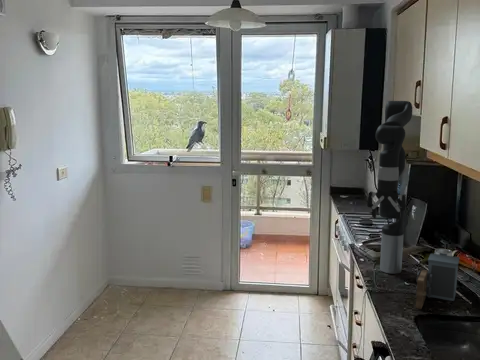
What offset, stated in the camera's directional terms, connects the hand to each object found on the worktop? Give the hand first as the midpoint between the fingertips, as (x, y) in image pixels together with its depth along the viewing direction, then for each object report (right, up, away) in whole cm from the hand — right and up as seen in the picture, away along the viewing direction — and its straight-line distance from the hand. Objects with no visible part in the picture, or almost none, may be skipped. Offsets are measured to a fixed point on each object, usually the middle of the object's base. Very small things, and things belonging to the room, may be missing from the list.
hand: (385, 219), depth 188 cm
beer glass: (+27, -29, +12) cm, 41 cm away
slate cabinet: (+20, -30, +3) cm, 37 cm away
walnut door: (+12, -31, -4) cm, 34 cm away
